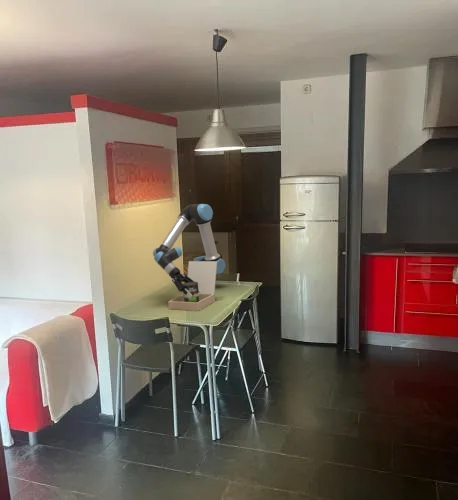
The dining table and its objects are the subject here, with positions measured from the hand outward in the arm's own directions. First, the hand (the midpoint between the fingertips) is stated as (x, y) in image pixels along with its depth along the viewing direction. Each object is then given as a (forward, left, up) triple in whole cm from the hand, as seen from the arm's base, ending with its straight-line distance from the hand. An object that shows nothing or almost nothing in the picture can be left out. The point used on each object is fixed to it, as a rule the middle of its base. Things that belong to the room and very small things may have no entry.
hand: (195, 294), depth 294 cm
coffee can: (0, -3, -7) cm, 7 cm away
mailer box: (-4, -3, -7) cm, 9 cm away
